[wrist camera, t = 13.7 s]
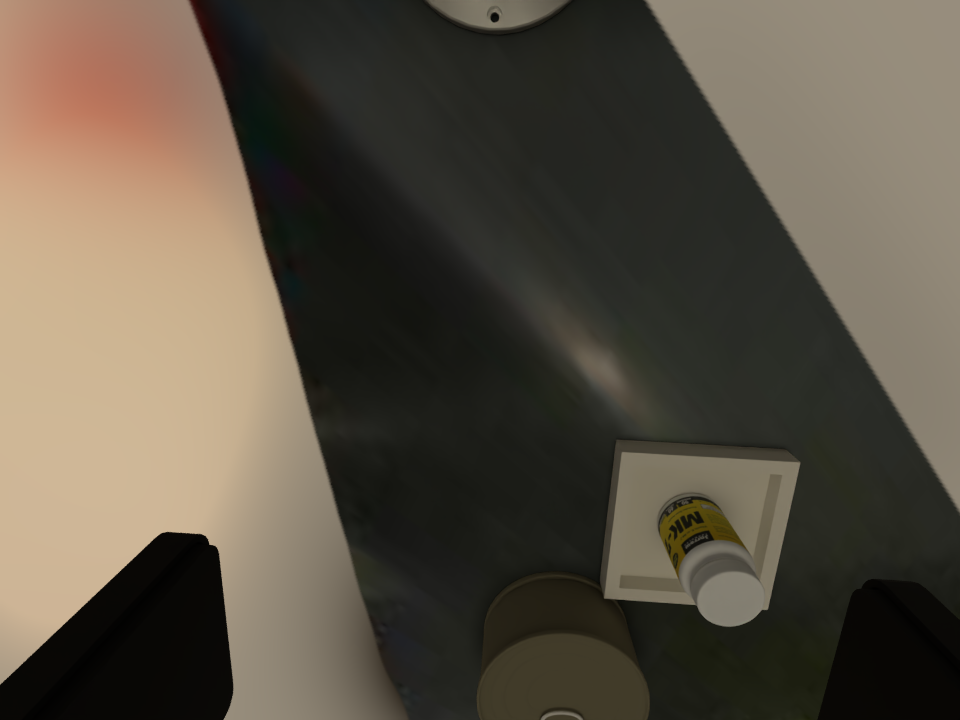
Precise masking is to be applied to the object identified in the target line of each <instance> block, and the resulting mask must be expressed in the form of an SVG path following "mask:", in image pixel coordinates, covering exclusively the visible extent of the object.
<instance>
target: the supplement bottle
mask: <svg viewBox="0 0 960 720" xmlns="http://www.w3.org/2000/svg"><path fill="white" fill-rule="evenodd" d="M657 527H658V532H659V534H660V537H661V539H662V542H663V544H664V547H665V549H666V551H667V554H668V556H669V558H670V561H671V563H672V565H673V567H674V570H675V572H676V575H677V577H678V579H679V581H680V584H681V586H682V588H683V589H684V591H685V592H686V593H687V594H688V595H689V596H690V597H691V598H692V599H693V600H694V602H695V604H696V605H697V607H698V609H699V611H700V613H701V614H702V615H703V616H704V617H705V618H706V619H707V620H708V621H710V622H712V623H714V624H717V625H720V626H738V625H741V624H744V623H746V622H749V621H750V620H752V619H753V618H755V617H756V616H757V615H758V614H759V612H760V611H761V610H762V608H763V606H764V603H765V590H764V587H763V585H762V583H761V582H760V580H759V578H758V577H757V575H756V567H755V563H754V560H753V558H752V556H751V554H750V553H749V551H748V550H747V548H746V547H745V545H744V544H743V542H742V541H741V539H740V538H739V536H738V535H737V533H736V532H735V530H734V529H733V527H732V526H731V524H730V523H729V521H728V520H727V518H726V517H725V515H724V514H723V512H722V510H721V509H720V508H719V506H718V505H717V504H716V503H715V502H714V501H713V500H711V499H710V498H708V497H706V496H703V495H699V494H684V495H680V496H677V497H675V498H673V499H672V500H670V501H669V502H668V503H667V504H666V505H665V506H664V507H663V508H662V510H661V512H660V514H659V517H658V521H657Z"/></svg>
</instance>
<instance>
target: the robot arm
mask: <svg viewBox="0 0 960 720" xmlns="http://www.w3.org/2000/svg"><path fill="white" fill-rule="evenodd" d="M423 1H424V2H425V3H426V4H427V5H428V6H429V7H430V8H432V9H433V10H434V11H435V12H436V13H438V14H439V15H440V16H441V17H442V18H444V19H446V20H448V21H450V22H451V23H453V24H455V25H457V26H459V27H461V28H464V29H468V30H471V31H474V32H477V33H485V34H497V35H501V34H508V33H516V32H521V31H524V30H527V29H529V28H532V27H535V26H538V25H540V24H542V23H543V22H545V21H547V20H548V19H550V18H552V17H553V16H555V15H557V14H558V13H559V12H560V11H561V10H563V9H564V8H565V7H566V6H567V5H568V4H569V3H570V2H571V1H573V0H423ZM493 15H497V16H498V17H499V21H498V22H496V23H493V22H492V21H491V20H490V19H491V17H492V16H493ZM232 696H233V678H232V669H231V660H230V650H229V641H228V632H227V623H226V614H225V605H224V595H223V586H222V577H221V568H220V560H219V553H218V549H217V547H216V546H213V545H209V541H208V539H207V538H206V536H204V535H202V534H190V533H173V532H165V533H161V534H160V535H159V536H157V537H156V538H155V539H154V540H153V541H152V542H151V543H150V544H148V545H147V546H146V547H145V548H144V549H143V550H142V551H141V552H140V553H139V554H138V555H137V556H136V557H135V558H134V559H133V560H132V561H130V562H129V563H128V564H127V566H125V567H124V568H123V569H122V570H121V571H120V572H119V573H118V574H117V575H116V576H115V577H114V578H113V579H111V580H110V581H109V582H108V583H107V584H106V585H105V586H104V587H103V588H102V589H101V590H100V591H99V592H98V593H97V594H96V595H95V596H94V597H92V598H91V599H90V601H88V603H86V604H85V605H84V606H83V607H82V608H81V609H80V610H79V611H78V612H77V613H76V614H75V615H74V616H72V618H70V619H69V620H68V621H67V622H66V623H65V624H64V625H63V626H62V627H61V628H60V629H59V630H58V631H57V632H56V633H54V634H53V635H52V636H51V637H50V638H49V639H48V640H47V641H46V642H45V643H44V644H43V645H42V646H41V647H40V648H39V649H38V650H37V651H36V652H35V653H33V654H32V656H30V657H29V658H28V659H27V660H26V661H25V662H24V663H23V664H22V665H21V666H20V667H19V668H18V669H17V670H15V672H13V673H12V674H11V675H10V676H9V677H8V678H7V679H6V680H5V681H4V682H3V683H2V684H1V685H0V720H223V719H224V718H225V716H226V714H227V712H228V709H229V707H230V703H231V700H232ZM818 720H960V620H959V619H958V618H957V617H956V616H955V615H954V614H953V613H951V612H950V611H949V610H948V609H947V608H946V607H945V606H944V605H943V604H942V603H941V602H940V601H939V600H938V599H936V598H935V597H934V596H933V595H932V594H931V593H930V592H929V591H928V590H927V589H926V588H924V587H923V586H922V585H920V584H919V583H915V582H912V581H897V580H882V579H871V580H868V581H866V582H865V583H864V584H863V586H862V589H856V590H855V591H854V592H853V593H852V596H851V598H850V602H849V606H848V609H847V613H846V617H845V620H844V624H843V628H842V631H841V635H840V639H839V643H838V646H837V650H836V654H835V657H834V661H833V665H832V668H831V672H830V676H829V679H828V683H827V687H826V690H825V694H824V698H823V702H822V705H821V709H820V713H819V716H818Z"/></svg>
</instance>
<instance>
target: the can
mask: <svg viewBox="0 0 960 720" xmlns="http://www.w3.org/2000/svg"><path fill="white" fill-rule="evenodd" d="M649 708H650V696H649V690H648V686H647V683H646V680H645V677H644V675H643V673H642V671H641V669H640V667H639V664H638V660H637V657H636V654H635V650H634V647H633V643H632V640H631V636H630V633H629V630H628V626H627V622H626V618H625V615H624V612H623V610H622V608H621V606H620V604H619V603H618V601H617V600H616V599H604V596H603V592H602V588H601V585H600V584H599V583H597V582H595V581H593V580H591V579H589V578H587V577H584V576H581V575H578V574H574V573H570V572H561V571H548V572H540V573H535V574H532V575H528V576H525V577H523V578H520V579H518V580H516V581H515V582H513V583H511V584H510V585H508V586H507V587H506V588H504V589H503V590H502V591H501V592H500V593H499V594H498V595H497V596H496V598H495V599H494V600H493V602H492V603H491V605H490V607H489V609H488V612H487V614H486V618H485V623H484V639H483V652H482V665H481V677H480V680H479V683H478V689H477V709H478V713H479V717H480V720H647V718H648V714H649Z"/></svg>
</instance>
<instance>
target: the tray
mask: <svg viewBox="0 0 960 720" xmlns="http://www.w3.org/2000/svg"><path fill="white" fill-rule="evenodd" d="M799 466H800V462H799V461H798V460H797V459H796V458H795V457H794V456H793V455H791V454H790V453H789V452H788V451H787V450H786V449H775V448H758V447H740V446H723V445H705V444H688V443H671V442H653V441H636V440H618V439H616V445H615V454H614V462H613V471H612V479H611V488H610V497H609V505H608V514H607V522H606V531H605V539H604V548H603V556H602V565H601V573H600V583H601V588H602V592H603V596H604V599H618V600H633V601H647V602H662V603H676V604H691V605H696V604H695V602H694V600H693V599H692V598H691V597H690V596H689V595H688V594H687V593H686V592H685V591H684V589H683V588H682V586H681V584H680V581H679V579H678V577H677V575H676V572H675V570H674V567H673V565H672V563H671V561H670V558H669V556H668V554H667V551H666V549H665V547H664V544H663V542H662V539H661V537H660V534H659V532H658V527H657V521H658V517H659V514H660V512H661V510H662V508H663V507H664V506H665V505H666V504H667V503H668V502H669V501H670V500H672V499H673V498H675V497H677V496H680V495H684V494H699V495H703V496H706V497H708V498H710V499H711V500H713V501H714V502H715V503H716V504H717V505H718V506H719V508H720V509H721V510H722V512H723V514H724V515H725V517H726V518H727V520H728V521H729V523H730V524H731V526H732V527H733V529H734V530H735V532H736V533H737V535H738V536H739V538H740V539H741V541H742V542H743V544H744V545H745V547H746V548H747V550H748V551H749V553H750V554H751V556H752V558H753V560H754V563H755V567H756V575H757V577H758V578H759V580H760V582H761V583H762V585H763V587H764V590H765V603H764V606H763V608H762V609H763V610H768V606H769V601H770V597H771V592H772V588H773V583H774V579H775V574H776V570H777V565H778V561H779V556H780V552H781V547H782V543H783V538H784V534H785V529H786V525H787V520H788V516H789V511H790V507H791V502H792V498H793V493H794V489H795V484H796V480H797V475H798V471H799Z"/></svg>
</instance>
